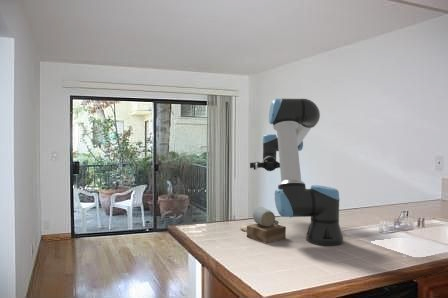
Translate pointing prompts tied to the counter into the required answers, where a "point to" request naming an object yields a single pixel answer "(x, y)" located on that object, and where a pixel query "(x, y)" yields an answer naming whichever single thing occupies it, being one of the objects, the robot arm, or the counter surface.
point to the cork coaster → (243, 228)
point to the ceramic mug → (264, 217)
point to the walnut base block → (266, 232)
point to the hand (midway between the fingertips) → (270, 166)
